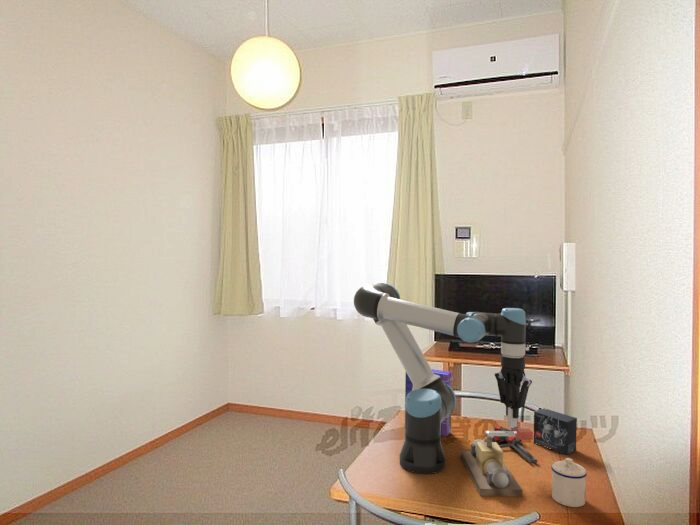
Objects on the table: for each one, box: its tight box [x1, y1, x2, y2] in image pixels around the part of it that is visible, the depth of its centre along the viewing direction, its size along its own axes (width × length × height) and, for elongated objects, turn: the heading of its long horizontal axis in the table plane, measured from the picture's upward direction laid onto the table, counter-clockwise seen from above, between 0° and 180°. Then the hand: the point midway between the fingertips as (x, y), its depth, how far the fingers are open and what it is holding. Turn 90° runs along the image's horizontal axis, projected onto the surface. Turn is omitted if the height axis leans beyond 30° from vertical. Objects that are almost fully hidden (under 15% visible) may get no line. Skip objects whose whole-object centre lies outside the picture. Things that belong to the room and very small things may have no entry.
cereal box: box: [404, 368, 453, 438], centre depth 185 cm, size 17×5×24 cm, turn 59°
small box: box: [533, 407, 578, 456], centre depth 170 cm, size 13×7×12 cm, turn 37°
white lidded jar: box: [551, 457, 588, 508], centre depth 134 cm, size 12×9×12 cm
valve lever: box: [484, 427, 534, 441], centre depth 147 cm, size 14×3×2 cm, turn 89°
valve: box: [483, 425, 538, 464], centre depth 168 cm, size 6×26×15 cm
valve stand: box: [460, 437, 523, 497], centre depth 148 cm, size 12×26×12 cm, turn 179°
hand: (512, 426), depth 154 cm, fingers closed
